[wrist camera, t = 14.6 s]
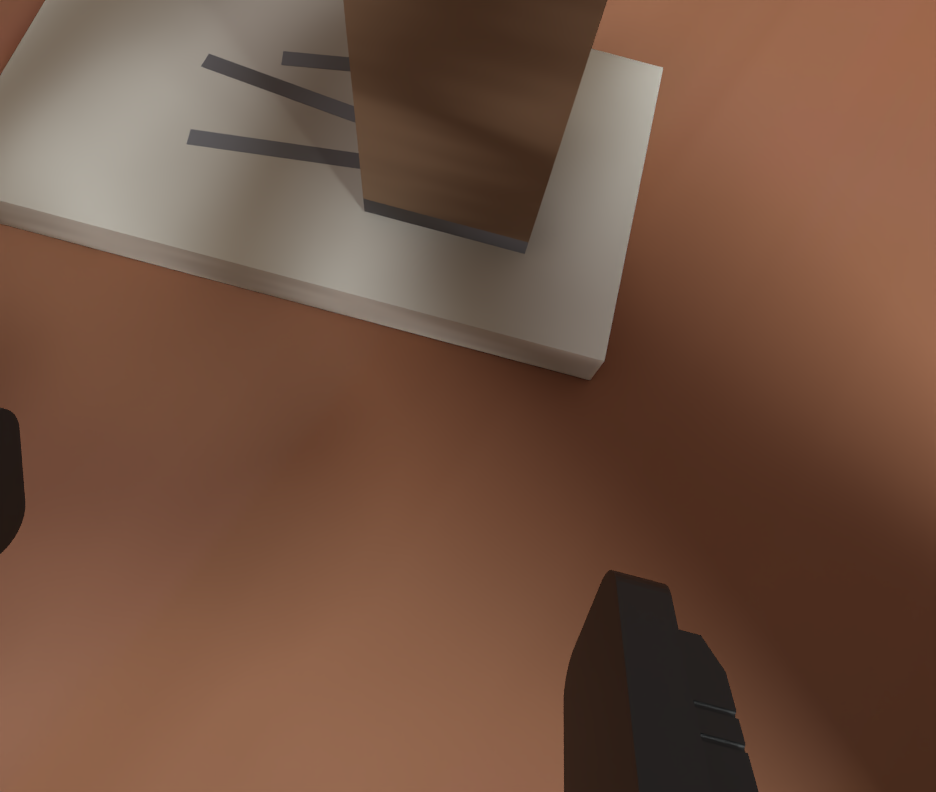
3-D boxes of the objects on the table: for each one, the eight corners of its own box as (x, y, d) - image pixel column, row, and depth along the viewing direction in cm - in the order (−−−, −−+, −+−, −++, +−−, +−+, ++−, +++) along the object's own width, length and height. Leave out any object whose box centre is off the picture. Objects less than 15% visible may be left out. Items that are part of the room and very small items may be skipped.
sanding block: (561, 109, 20) (673, -259, 12) (524, 253, 19) (624, -53, 10) (413, 70, 20) (419, -329, 12) (364, 211, 19) (329, -132, 10)
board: (647, 102, 23) (663, 67, 21) (590, 380, 19) (604, 360, 18) (115, -40, 23) (95, -84, 21) (-30, 215, 19) (-65, 182, 18)
